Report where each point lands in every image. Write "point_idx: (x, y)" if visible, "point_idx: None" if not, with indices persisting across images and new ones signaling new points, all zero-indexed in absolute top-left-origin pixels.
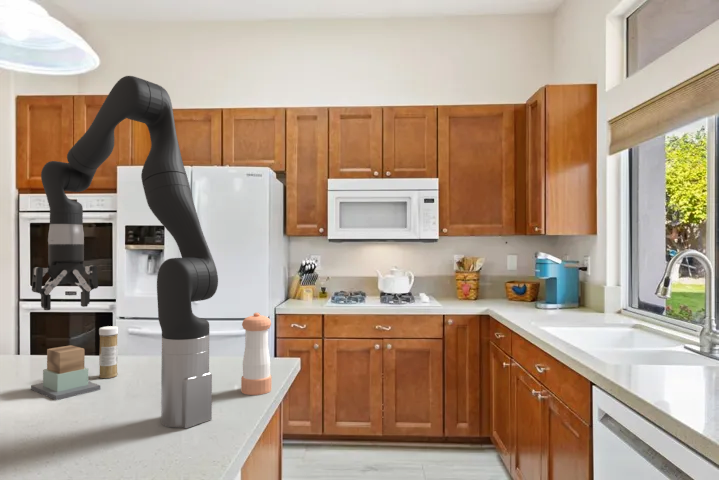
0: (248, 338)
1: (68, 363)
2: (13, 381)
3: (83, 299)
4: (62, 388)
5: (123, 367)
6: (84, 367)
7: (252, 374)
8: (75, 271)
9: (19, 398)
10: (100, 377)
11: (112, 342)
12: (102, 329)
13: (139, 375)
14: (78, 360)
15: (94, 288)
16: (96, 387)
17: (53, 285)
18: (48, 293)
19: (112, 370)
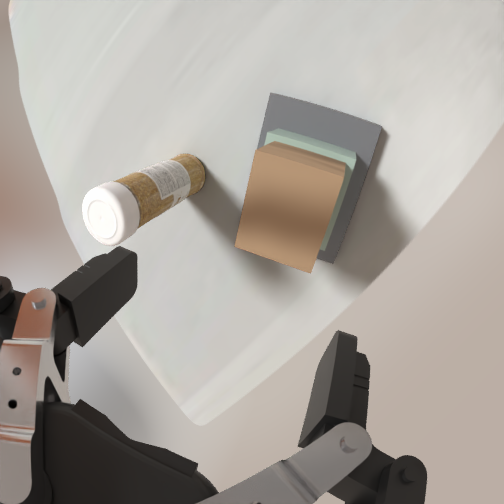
0: None
1: (318, 159)
2: (298, 337)
3: (108, 288)
4: (343, 149)
5: None
6: None
7: None
8: (1, 480)
9: (394, 224)
10: (204, 178)
11: (134, 176)
12: (124, 215)
13: (151, 113)
14: (286, 149)
15: (13, 291)
16: (281, 95)
17: (298, 480)
18: (342, 428)
19: (180, 158)
